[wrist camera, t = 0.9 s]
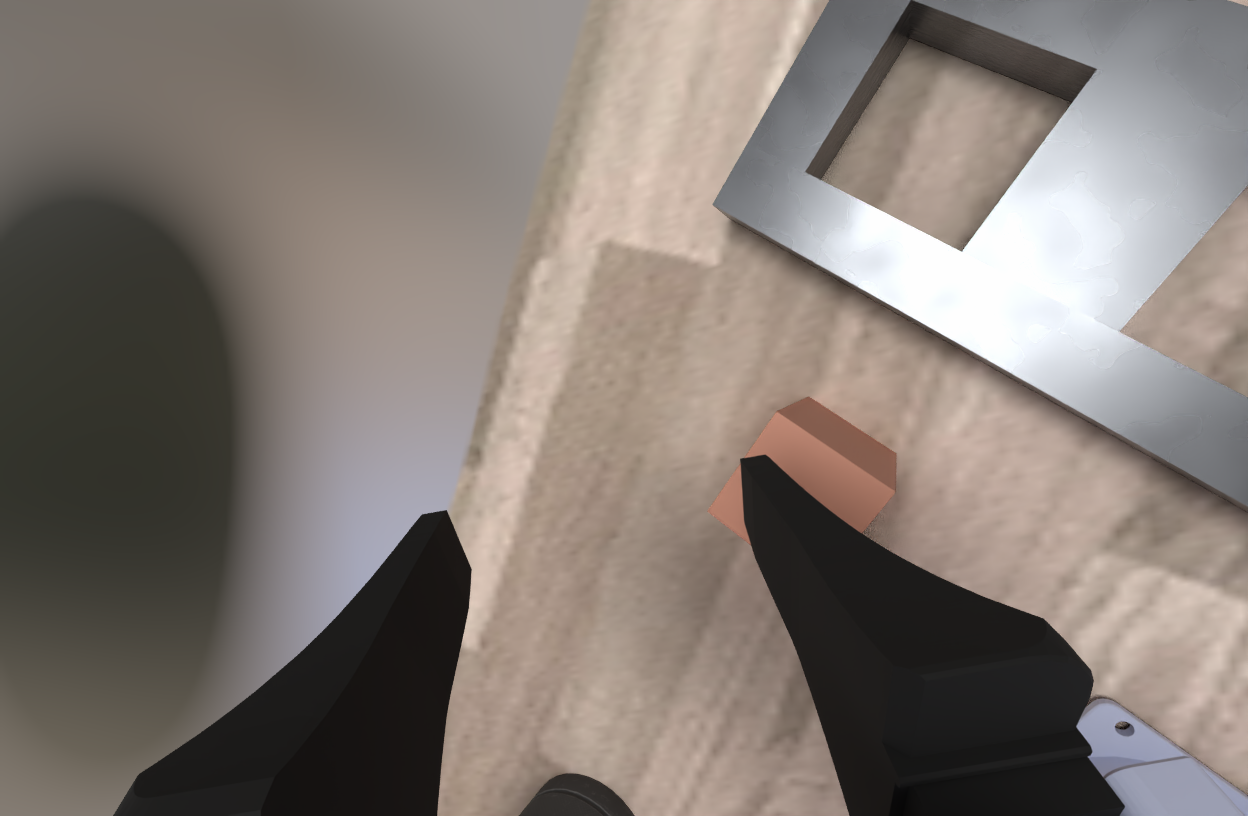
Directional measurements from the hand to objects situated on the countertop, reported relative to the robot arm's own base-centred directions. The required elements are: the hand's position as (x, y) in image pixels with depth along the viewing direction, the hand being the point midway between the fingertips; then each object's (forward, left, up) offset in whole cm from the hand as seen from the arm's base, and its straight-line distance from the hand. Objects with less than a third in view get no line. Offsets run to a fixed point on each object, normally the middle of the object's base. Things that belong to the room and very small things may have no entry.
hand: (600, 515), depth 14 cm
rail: (-5, -14, -13) cm, 19 cm away
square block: (-3, -2, -13) cm, 13 cm away
